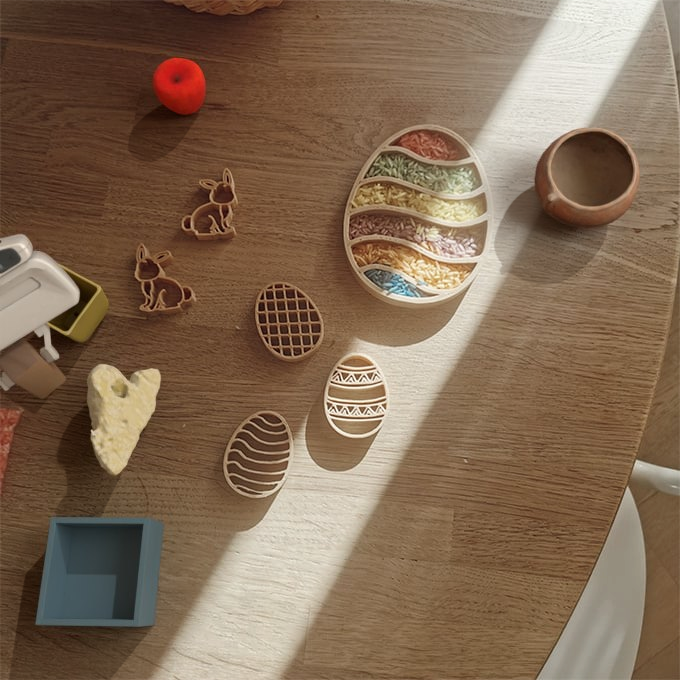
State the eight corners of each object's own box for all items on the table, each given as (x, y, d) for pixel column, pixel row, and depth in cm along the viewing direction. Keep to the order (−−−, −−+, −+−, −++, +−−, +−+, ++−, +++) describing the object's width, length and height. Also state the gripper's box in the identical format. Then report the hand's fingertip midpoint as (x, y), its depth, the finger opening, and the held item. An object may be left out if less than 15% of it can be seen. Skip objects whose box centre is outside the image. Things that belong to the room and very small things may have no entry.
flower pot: (90, 356, 114) (66, 336, 105) (46, 331, 116) (19, 309, 107) (122, 310, 116) (102, 287, 108) (79, 286, 118) (55, 261, 110)
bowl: (520, 227, 117) (532, 194, 108) (538, 147, 122) (551, 108, 113) (620, 248, 115) (640, 217, 106) (633, 165, 120) (655, 128, 111)
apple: (152, 103, 130) (138, 72, 122) (192, 75, 131) (180, 43, 124) (182, 134, 127) (169, 105, 120) (222, 105, 129) (212, 75, 121)
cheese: (124, 360, 115) (39, 395, 104) (146, 342, 110) (59, 377, 99) (171, 445, 115) (91, 489, 104) (195, 431, 110) (113, 476, 99)
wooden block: (50, 358, 93) (21, 336, 86) (68, 379, 92) (40, 359, 85) (25, 379, 92) (-7, 359, 85) (42, 401, 91) (12, 382, 84)
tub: (56, 623, 100) (34, 625, 94) (70, 522, 105) (50, 517, 99) (154, 625, 100) (138, 626, 93) (163, 523, 104) (149, 517, 98)
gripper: (-136, 337, 78) (-48, 432, 84) (35, 236, 81) (108, 334, 87) (-124, 321, 83) (-42, 411, 89) (36, 227, 86) (104, 320, 92)
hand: (33, 372), depth 88 cm, fingers closed on wooden block, 4 cm apart
